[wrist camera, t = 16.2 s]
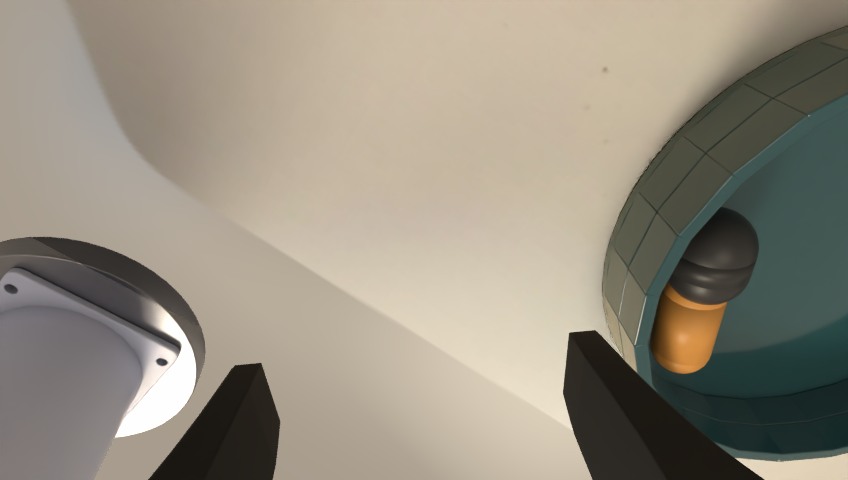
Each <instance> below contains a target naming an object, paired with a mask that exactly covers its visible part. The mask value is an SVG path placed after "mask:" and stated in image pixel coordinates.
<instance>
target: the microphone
mask: <svg viewBox="0 0 848 480" xmlns="http://www.w3.org/2000/svg"><path fill="white" fill-rule="evenodd" d="M758 252H759V241H758V236H757V233H756V231H755V229H754V227H753V226H752V224H751V223H750V222H749V221H748V220H747V219H746V218H745V217H744V216H743V215H741V214H740V213H738V212H736V211H734V210H731V209H728V208H724V207H720V208H719V210H718V211H717V212H716V213H715V214H714V215H713V216H712V217H711V219H710V220H709V221H708V222H707V223H706V224H705V225H704V226H703V227H702V229H701V230H700V231H699V232H698V233H697V234H696V235H695V236H694V238H693V239H692V240H691V241H690V243H689V245H688V247H687V248H686V250H685V252H684V254H683V256H682V257H681V259H680V261H679V263H678V264H677V266H676V268H675V270H674V271H673V273H672V275H671V277H670V279H669V280H668V282H667V284H666V286H665V287H664V289H663V291H662V293H661V294H660V298H659V302H658V306H657V310H656V315H655V319H654V324H653V329H652V333H651V338H650V347H651V352H652V354H653V356H654V358H655V359H656V361H657V362H658V363H659V364H660V365H661V366H662V367H664V368H665V369H667V370H669V371H672V372H675V373H680V374H687V373H693V372H695V371H698V370H699V369H701V368H702V367H704V366H705V364H706V363H707V362H708V361H709V359H710V356H711V354H712V350H713V347H714V344H715V341H716V337H717V334H718V331H719V327H720V324H721V321H722V318H723V314H724V311H725V308H726V305H727V302H728V301H731V300H732V299H734V298H735V297H737V296H738V295H740V294H741V292H742V291H743V290H744V289H745V288H746V286H747V285H748V283H749V281H750V279H751V276H752V273H753V269H754V266H755V263H756V260H757V257H758Z"/></svg>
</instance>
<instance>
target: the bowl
mask: <svg viewBox="0 0 848 480" xmlns="http://www.w3.org/2000/svg"><path fill="white" fill-rule="evenodd" d="M720 207H724V208H728V209H731V210H734V211H736V212H738V213H740V214H741V215H743V216H744V217H745V218H746V219H747V220H748V221H749V222H750V223H751V224H752V226H753V227H754V229H755V231H756V233H757V236H758V241H759V252H758V257H757V260H756V263H755V266H754V269H753V273H752V276H751V279H750V281H749V283H748V285H747V286H746V288H745V289H744V290H743V291H742V292H741V294H740V295H738V296H737V297H735V298H734V299H732V300H731V301H728V302H727V305H726V308H725V311H724V314H723V318H722V321H721V324H720V327H719V331H718V334H717V337H716V341H715V344H714V347H713V350H712V354H711V356H710V359H709V361H708V362H707V363H706V364H705V366H704V367H702V368H701V369H699V370H698V371H695V372H693V373H687V374H680V373H675V372H672V371H669V370H667V369H665V368H664V367H662V366H661V365H660V364H659V363H658V362H657V361H656V359H655V358H654V356H653V354H652V352H651V347H650V338H651V333H652V329H653V324H654V319H655V315H656V310H657V306H658V302H659V298H660V294H661V293H662V291H663V289H664V287H665V286H666V284H667V282H668V280H669V279H670V277H671V275H672V273H673V271H674V270H675V268H676V266H677V264H678V263H679V261H680V259H681V257H682V256H683V254H684V252H685V250H686V248H687V247H688V245H689V243H690V241H691V240H692V239H693V238H694V236H695V235H696V234H697V233H698V232H699V231H700V230H701V229H702V227H703V226H704V225H705V224H706V223H707V222H708V221H709V220H710V219H711V217H712V216H713V215H714V214H715V213H716V212H717V211H718V210H719V208H720ZM602 290H603V303H604V310H605V314H606V318H607V322H608V325H609V328H610V332H611V335H612V338H613V339H614V341H615V343H616V345H617V347H618V349H619V351H620V353H621V355H622V357H623V358H624V360H625V361H626V362H627V363H628V364H629V365H630V366H631V367H632V368H633V369H634V370H635V371H636V372H637V373H638V374H639V375H640V376H641V377H642V378H643V379H644V380H645V381H646V382H647V383H648V384H649V385H650V386H651V387H652V388H653V389H654V390H655V391H656V392H657V393H658V394H659V395H660V396H662V397H663V398H664V399H665V400H666V401H667V402H668V403H669V404H670V405H671V406H672V407H673V408H674V409H676V410H677V411H678V412H679V413H680V414H681V415H682V416H683V417H685V418H686V419H687V420H688V421H689V422H690V423H692V424H693V425H694V426H695V427H696V428H697V429H699V430H700V431H701V432H702V433H703V434H705V435H706V436H707V437H708V438H709V439H711V440H712V441H713V442H714V443H716V444H717V445H718V446H719V447H721V448H722V449H723V450H725V451H726V452H727V453H729V454H730V455H731V456H732V457H734V458H743V459H754V460H765V461H776V462H777V461H779V462H780V461H792V460H803V459H814V458H826V457H833V456H837V455H841V454H845V453H848V26H847V27H844V28H841V29H839V30H836V31H833V32H831V33H828V34H825V35H823V36H820V37H818V38H815V39H812V40H810V41H807V42H805V43H803V44H801V45H799V46H797V47H795V48H793V49H791V50H790V51H788V52H786V53H784V54H782V55H780V56H778V57H776V58H774V59H772V60H770V61H768V62H767V63H765V64H764V65H762V66H761V67H759V68H757V69H756V70H754V71H753V72H751V73H750V74H748V75H746V76H745V77H743V78H742V79H740V80H738V81H737V82H736V83H734V84H733V85H732V86H730V87H729V88H728V89H727V90H725V91H724V92H723V93H721V94H720V95H719V96H718V97H716V98H715V99H714V100H712V101H711V102H710V103H709V104H707V105H706V106H705V107H704V108H703V109H702V110H701V111H700V112H698V113H697V114H696V115H695V116H694V117H693V118H692V119H691V120H690V121H689V122H688V123H687V124H686V125H685V126H684V127H683V128H682V129H680V130H679V131H678V132H677V134H676V135H675V136H674V137H673V138H672V139H671V140H670V142H669V143H668V144H667V145H666V146H665V147H664V148H663V150H662V151H661V152H660V153H659V154H658V155H657V156H656V158H655V159H654V160H653V162H652V163H651V164H650V166H649V167H648V169H647V170H646V172H645V173H644V174H643V176H642V177H641V179H640V180H639V182H638V183H637V184H636V186H635V188H634V189H633V191H632V193H631V195H630V197H629V199H628V200H627V202H626V204H625V206H624V208H623V210H622V211H621V213H620V216H619V218H618V221H617V223H616V226H615V229H614V231H613V234H612V236H611V239H610V243H609V247H608V251H607V255H606V259H605V263H604V273H603V284H602Z"/></svg>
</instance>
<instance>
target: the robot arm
mask: <svg viewBox="0 0 848 480" xmlns="http://www.w3.org/2000/svg"><path fill="white" fill-rule="evenodd" d="M11 285H14V286H15V287H16V288H14V287H13V286H11ZM179 354H180V350H179V348H178V347H176V346H175V345H173V344H171V343H169V342H167V341H165V340H163V339H161V338H159V337H157V336H155V335H153V334H151V333H149V332H147V331H145V330H143V329H141V328H139V327H137V326H135V325H133V324H131V323H130V322H128V321H126V320H124V319H122V318H120V317H118V316H116V315H114V314H112V313H110V312H108V311H106V310H104V309H102V308H100V307H98V306H96V305H94V304H92V303H90V302H88V301H86V300H84V299H82V298H80V297H78V296H76V295H74V294H72V293H70V292H68V291H66V290H64V289H62V288H60V287H58V286H56V285H54V284H52V283H50V282H48V281H46V280H44V279H42V278H40V277H38V276H36V275H34V274H32V273H30V272H28V271H26V270H24V269H21V268H12V269H10V270H9V271H8V272H7V273H6V274H5V275H4V276H3V278H2V279H1V281H0V480H94V478H95V476H96V474H97V472H98V470H99V468H100V466H101V464H102V462H103V460H104V458H105V456H106V454H107V452H108V450H109V448H110V446H111V444H112V442H113V440H114V438H115V436H116V434H117V432H118V430H119V428H120V426H121V424H122V422H123V420H124V419H125V417H126V416H127V415H128V414H129V413H130V412H131V411H132V410H133V409H134V407H135V406H136V405H137V404H138V403H139V402H140V401H141V400H142V398H143V397H144V396H145V395H146V394H147V393H148V392H149V391H150V390H151V388H152V387H153V386H154V385H155V384H156V383H157V382H158V381H159V380H160V378H161V377H162V376H163V375H164V374H165V373H166V372H167V371H168V369H169V368H170V367H171V366H172V365H173V364H174V363H175V362H176V361H177V359H178V357H179ZM161 358H163V359H165V360H163V359H161ZM563 395H564V399H565V402H566V406H567V410H568V414H569V417H570V421H571V424H572V428H573V431H574V435H575V437H576V439H577V442H578V445H579V447H580V450H581V452H582V455H583V457H584V460H585V462H586V464H587V467H588V469H589V472H590V474H591V477H592V479H593V480H764V479H763V478H761V477H760V476H758V475H757V474H756V473H754V472H753V471H751V470H750V469H749V468H747V467H746V466H744V465H743V464H742V463H740V462H739V461H738V460H736V459H735V458H734V457H732V456H731V455H730V454H729V453H727V452H726V451H725V450H723V449H722V448H721V447H719V446H718V445H717V444H716V443H714V442H713V441H712V440H711V439H709V438H708V437H707V436H706V435H705V434H703V433H702V432H701V431H700V430H699V429H697V428H696V427H695V426H694V425H693V424H692V423H690V422H689V421H688V420H687V419H686V418H685V417H683V416H682V415H681V414H680V413H679V412H678V411H677V410H676V409H674V408H673V407H672V406H671V405H670V404H669V403H668V402H667V401H666V400H665V399H664V398H663V397H662V396H660V395H659V394H658V393H657V392H656V391H655V390H654V389H653V388H652V387H651V386H650V385H649V384H648V383H647V382H646V381H645V380H644V379H643V378H642V377H641V376H640V375H639V374H638V373H637V372H636V371H635V370H634V369H633V368H632V367H631V366H630V365H629V364H628V363H627V362H626V361H625V360H624V359H623V358H622V357H621V356H620V355H619V354H618V353H617V352H616V351H615V350H614V349H613V348H612V347H611V346H610V345H609V344H608V343H607V341H606V340H605V339H604V338H603V337H602V336H601V335H600V334H599V333H598V332H597V331H595V330H593V331H583V332H573V333H569V340H568V350H567V360H566V369H565V379H564V389H563ZM279 429H280V419H279V416H278V413H277V410H276V407H275V404H274V401H273V398H272V395H271V392H270V389H269V386H268V383H267V379H266V376H265V373H264V370H263V367H262V364H261V363H256V364H246V365H235V366H234V367H233V368H232V369H231V371H230V372H229V374H228V375H227V377H226V378H225V379H224V381H223V382H222V383H221V385H220V386H219V388H218V389H217V391H216V392H215V393H214V395H213V396H212V398H211V399H210V400H209V402H208V403H207V405H206V406H205V407H204V409H203V410H202V412H201V413H200V414H199V416H198V417H197V419H196V420H195V421H194V423H193V424H192V425H191V426H190V428H189V429H188V430H187V432H186V433H185V434H184V436H183V437H182V438H181V440H180V441H179V442H178V444H177V445H176V446H175V448H174V449H173V450H172V452H171V453H170V454H169V455H168V456H167V457H166V459H165V460H164V461H163V462H162V464H161V465H160V466H159V467H158V469H157V470H156V471H155V472H154V473H153V475H152V476H151V477H150V478H149V479H148V480H272V479H273V475H274V470H275V465H276V458H277V449H278V439H279Z"/></svg>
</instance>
